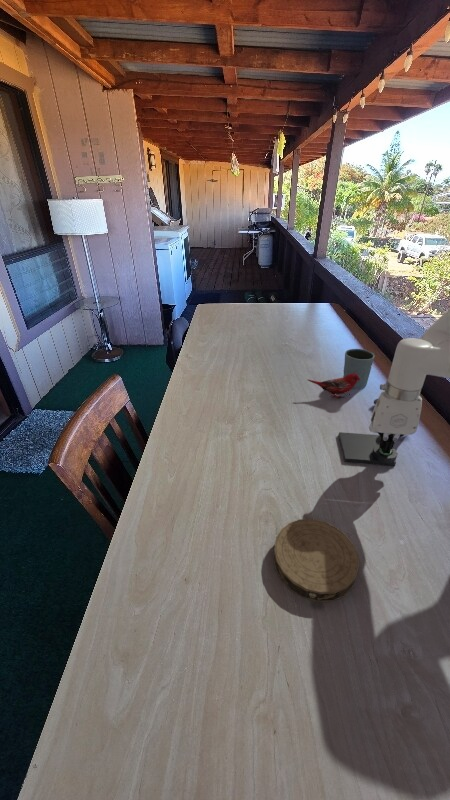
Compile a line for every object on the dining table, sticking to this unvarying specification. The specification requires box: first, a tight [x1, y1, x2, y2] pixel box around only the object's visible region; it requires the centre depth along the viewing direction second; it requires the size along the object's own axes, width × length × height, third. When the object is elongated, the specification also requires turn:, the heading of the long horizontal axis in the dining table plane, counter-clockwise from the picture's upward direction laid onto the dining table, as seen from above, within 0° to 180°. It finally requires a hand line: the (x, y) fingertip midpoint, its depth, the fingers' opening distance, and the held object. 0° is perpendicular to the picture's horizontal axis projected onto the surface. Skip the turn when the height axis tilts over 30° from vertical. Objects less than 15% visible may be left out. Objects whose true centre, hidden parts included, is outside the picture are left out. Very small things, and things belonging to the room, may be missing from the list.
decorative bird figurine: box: [307, 373, 361, 399], centre depth 121 cm, size 3×18×10 cm, turn 78°
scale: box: [337, 431, 398, 467], centre depth 97 cm, size 13×12×3 cm
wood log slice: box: [273, 518, 360, 603], centre depth 68 cm, size 16×16×3 cm
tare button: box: [379, 448, 392, 455], centre depth 94 cm, size 3×3×2 cm
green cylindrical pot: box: [342, 348, 376, 389], centre depth 130 cm, size 10×10×12 cm
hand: (384, 449), depth 93 cm, fingers closed
